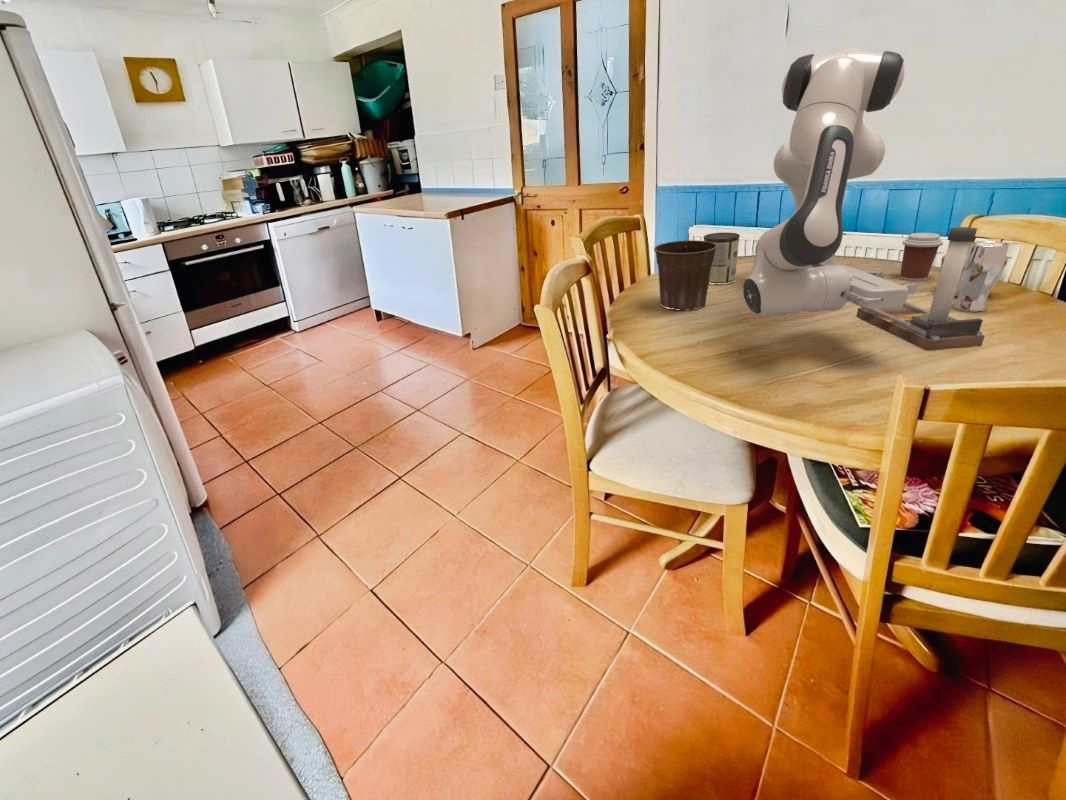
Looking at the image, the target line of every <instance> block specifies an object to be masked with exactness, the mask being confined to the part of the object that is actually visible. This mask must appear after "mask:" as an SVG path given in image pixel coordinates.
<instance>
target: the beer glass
mask: <svg viewBox="0 0 1066 800" xmlns="http://www.w3.org/2000/svg"><path fill="white" fill-rule="evenodd" d="M1009 245H1010V244H1009V243H1008V242H1003V241H996V240H995V241H994V240H977V241H971V242H970V245H969V249H968V252H967V255H966V259H965V262H964V265H963V269H962V276H961V287H960V292H959V295H958V297H956V299H955V301H954V303H953V304H952V307H953V309H955V310H957V309H958V310H957V311H960V310H962V312H966V311H971V312H970V313H979V312H978V311H982V312H984V310H985V311H986V309H987V305H988V297H989V295H990V292H991V290H992V289H993V287H992V286H993V284H994V283H995V281H996V279H997V277H998V276H999V274H1000V272H1001V270H1002V267H1003V264H1004V261H1005V258H1007V253H1008V248H1009Z"/></svg>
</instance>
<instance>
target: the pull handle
mask: <svg viewBox="0 0 1066 800" xmlns="http://www.w3.org/2000/svg"><path fill="white" fill-rule="evenodd" d="M977 231H978V228H976V227H969V226H968V227H967V226H957V227H951V228H950V230H949V233H948V236H947V239H946V240H948V241H949V243H948V246H947V249H946V253H945V259H944V263H943V266H942V270H941V273H940V277H939V276H938V281H937V283H936V288H935V292H934V295H933V299H932V302H931V306H930V309H929V311H930V312H929V315H918V316H913V317H912V320H911V324H913V325H915V326H917V327H919V328H922V329H924V330H926V331H927V328H928V325H929V323H936V322H946V321H957V320H958V319H957V318H954V317H951V316H949V314H950V311H951V309H952V306H953V302H954V298H955V296H954V295H955V292H956V289H957V285H958V282H959V279H960V275H961V272H962V269H963V265H964V262H965V259H966V255H967V252H968V250H969V247H970V245H971V243H972V242H974V241H975V239H976V234H977Z"/></svg>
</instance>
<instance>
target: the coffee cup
mask: <svg viewBox="0 0 1066 800" xmlns="http://www.w3.org/2000/svg"><path fill="white" fill-rule="evenodd" d="M940 237H941V236H940V234H939V233H933V232H913V233H910V234H909V235H908V237H907V238H906V239H903V240H902V245H903V246H904V247H903V252H902V253H903V255H902V261H901V262H902V263H901V268H900V274H899V275H900V276H899V279H901V280H903V281H904V280H905V281H910V282H914V281H915V282H918V281H920V282H921V281H926V280H928V277H929V274H930V271H931V268H932V267H933V263H934V261H935V258H936V255H937V254H938V250H939V247H941V246H943V244H944V241H943V240H942V239H941V238H940Z"/></svg>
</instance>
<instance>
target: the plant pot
mask: <svg viewBox="0 0 1066 800" xmlns="http://www.w3.org/2000/svg"><path fill="white" fill-rule="evenodd" d="M717 247H718V245H717V244H716V243H713V242H708V241H704V240H696V239H695V240H694V239H693V240H692V239H691V240H686V239H685V240H676V241H675V240H674V241H667V242H664V243H660V244H657V245H656V246H654V248H653V251H654V252H655V256H656V257H655V258H656V264H657V269H658V270H657V271H658V282H659V297H660V298H659V301H660V305H661V304H662V305H663V306H665V307H669V308H674V309H681V310H685V309H694V308H699V307H701V308H703V307H705V306H706V303H707V297H708V290H709V278H710V271H711V265H712V262H713V261H714V255H715V250H716V249H717ZM702 306H703V307H702ZM699 309H700V308H699Z"/></svg>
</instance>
